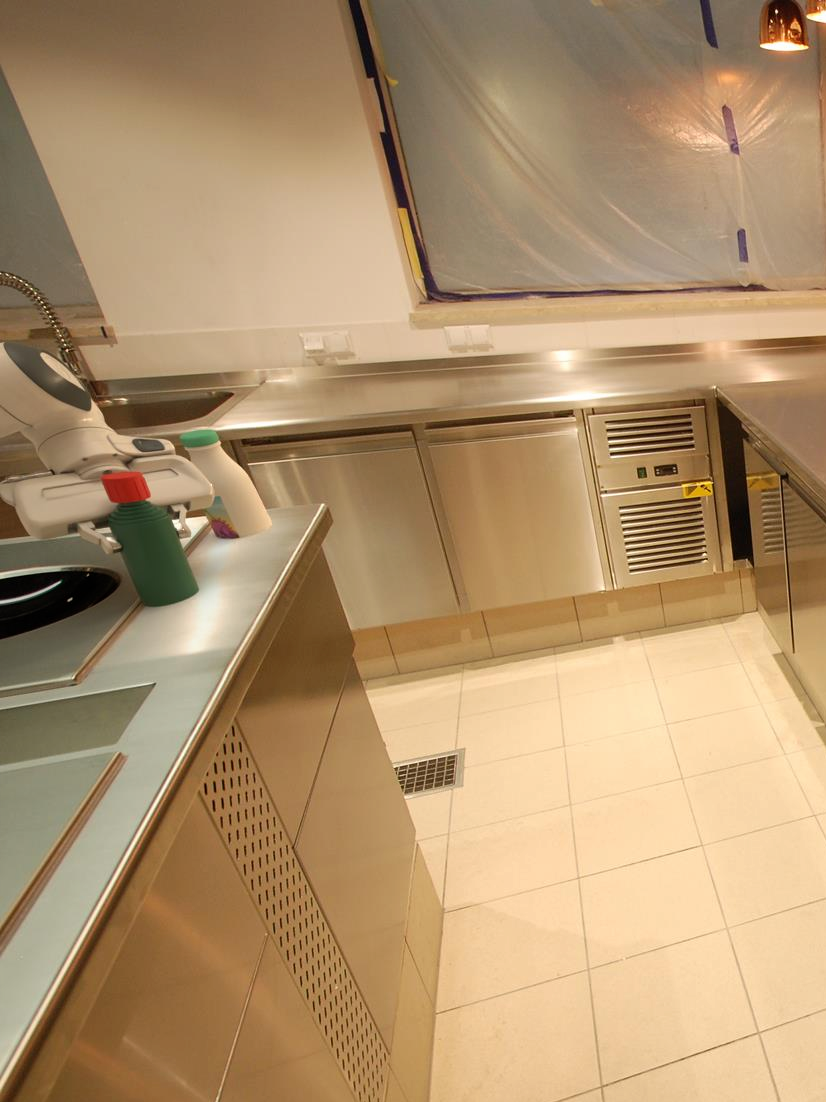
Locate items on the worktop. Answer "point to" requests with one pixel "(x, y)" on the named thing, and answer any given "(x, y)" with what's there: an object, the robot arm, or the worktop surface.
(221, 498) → the milk bottle
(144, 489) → the cap
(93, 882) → the worktop surface
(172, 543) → the bottle
